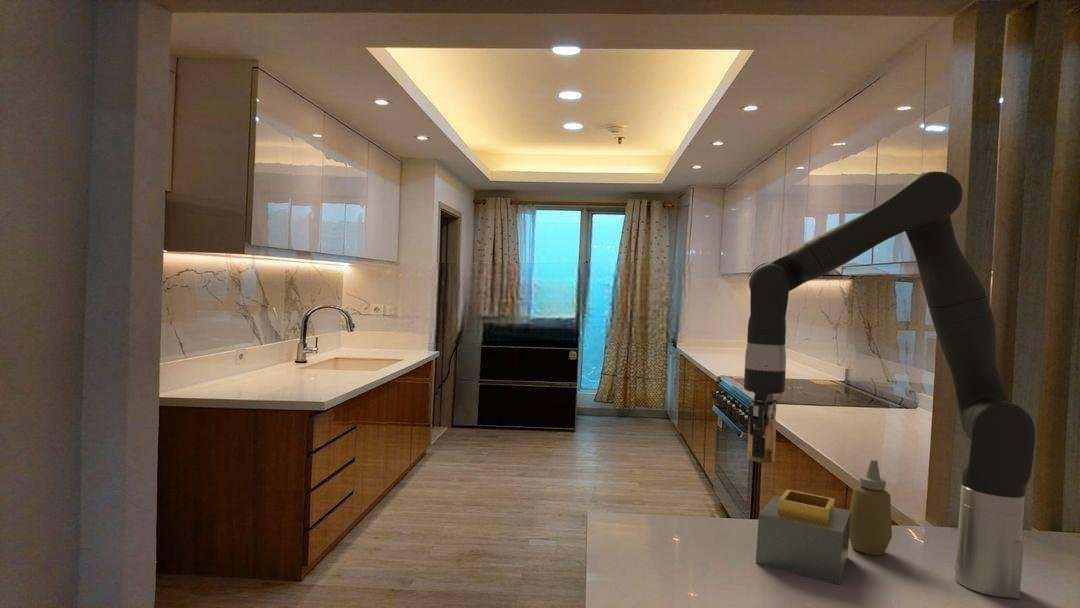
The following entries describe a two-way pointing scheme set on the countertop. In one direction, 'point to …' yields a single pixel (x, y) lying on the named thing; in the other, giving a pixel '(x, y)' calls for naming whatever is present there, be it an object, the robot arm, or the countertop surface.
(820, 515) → the grey boxy block
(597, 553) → the countertop surface
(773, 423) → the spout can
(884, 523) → the squeeze bottle
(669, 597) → the countertop surface
